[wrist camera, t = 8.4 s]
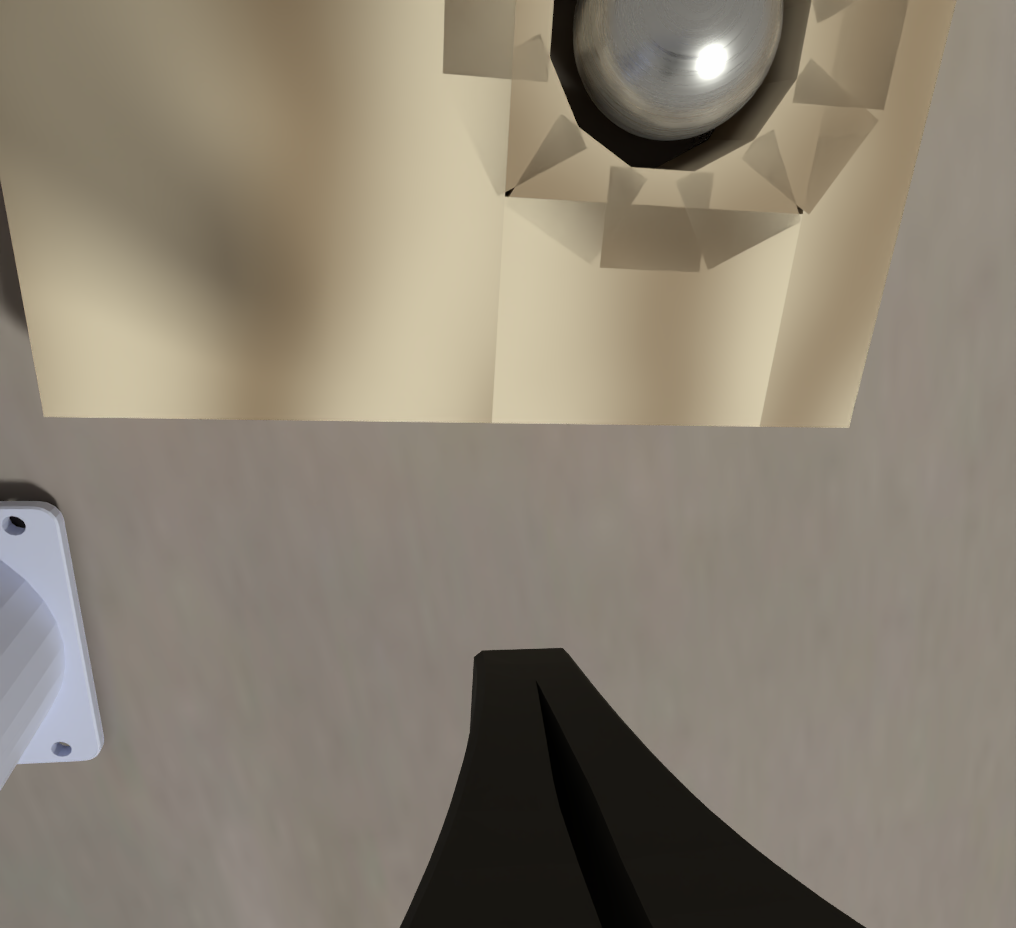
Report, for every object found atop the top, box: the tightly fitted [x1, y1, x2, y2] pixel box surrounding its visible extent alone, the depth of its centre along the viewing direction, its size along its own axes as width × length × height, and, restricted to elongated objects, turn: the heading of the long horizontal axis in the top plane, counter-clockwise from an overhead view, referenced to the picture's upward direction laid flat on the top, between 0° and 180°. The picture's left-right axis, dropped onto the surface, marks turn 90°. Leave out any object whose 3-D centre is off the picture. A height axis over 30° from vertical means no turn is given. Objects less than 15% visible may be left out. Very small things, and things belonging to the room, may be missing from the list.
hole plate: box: [0, 0, 956, 428], centre depth 15 cm, size 18×16×2 cm
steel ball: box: [573, 0, 783, 141], centre depth 15 cm, size 4×4×4 cm
